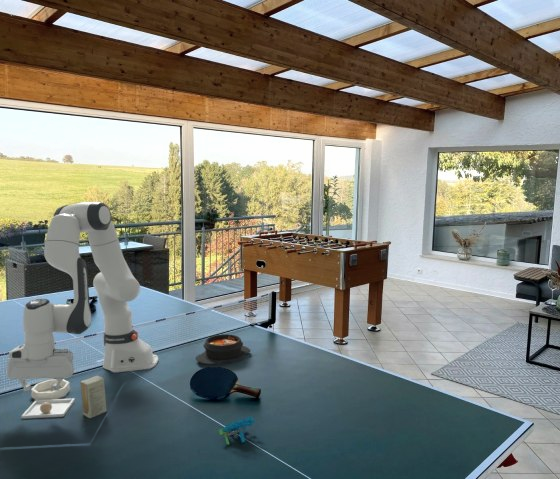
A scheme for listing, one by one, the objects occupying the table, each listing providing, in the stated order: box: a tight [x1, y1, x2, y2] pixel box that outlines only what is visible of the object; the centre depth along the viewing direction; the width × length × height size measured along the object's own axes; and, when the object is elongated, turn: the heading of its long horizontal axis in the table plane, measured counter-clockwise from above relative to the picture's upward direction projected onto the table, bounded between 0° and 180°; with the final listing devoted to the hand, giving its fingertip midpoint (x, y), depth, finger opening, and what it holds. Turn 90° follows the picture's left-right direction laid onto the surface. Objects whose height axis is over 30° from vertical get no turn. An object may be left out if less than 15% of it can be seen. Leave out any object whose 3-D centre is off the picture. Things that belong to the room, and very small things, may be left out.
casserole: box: [195, 333, 252, 366], centre depth 211 cm, size 25×19×8 cm
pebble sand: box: [40, 402, 52, 414], centre depth 163 cm, size 4×4×4 cm
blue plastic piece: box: [218, 416, 255, 446], centre depth 146 cm, size 11×6×10 cm
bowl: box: [30, 378, 71, 401], centre depth 177 cm, size 12×12×4 cm
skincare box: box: [80, 375, 107, 419], centre depth 162 cm, size 6×4×12 cm
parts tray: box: [20, 397, 76, 419], centre depth 165 cm, size 13×11×2 cm
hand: (42, 390), depth 161 cm, fingers open, 8 cm apart
